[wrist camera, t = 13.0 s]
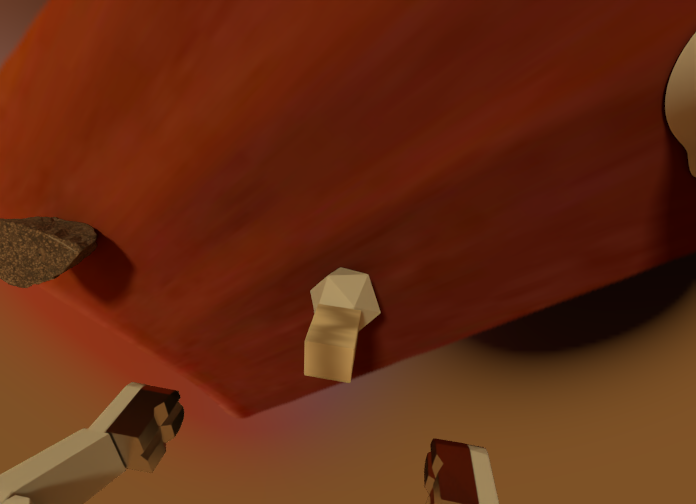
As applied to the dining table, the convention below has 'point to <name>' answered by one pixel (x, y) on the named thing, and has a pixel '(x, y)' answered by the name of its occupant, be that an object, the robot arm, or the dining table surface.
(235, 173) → the dining table surface
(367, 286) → the die
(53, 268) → the rock
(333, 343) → the beech block
